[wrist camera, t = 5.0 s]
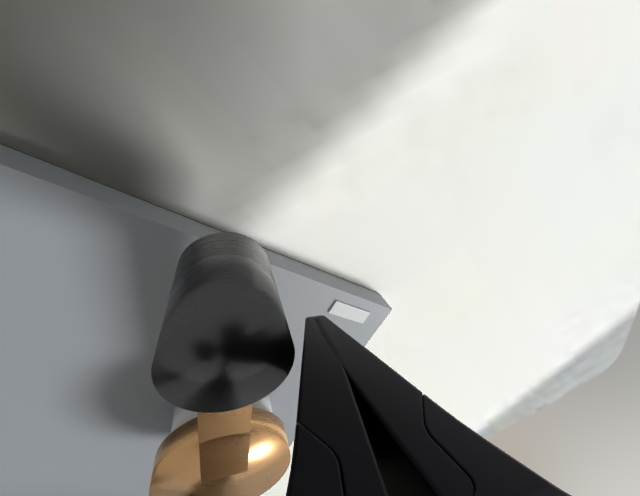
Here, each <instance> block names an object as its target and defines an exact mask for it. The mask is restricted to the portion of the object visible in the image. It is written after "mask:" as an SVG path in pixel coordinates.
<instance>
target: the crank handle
mask: <svg viewBox="0 0 640 496" xmlns="http://www.w3.org/2000/svg"><path fill="white" fill-rule="evenodd" d="M294 359H295V347H294V343H293V340H292V337H291V333H290V330H289V326H288V323H287V320H286V316H285V313H284V310H283V306H282V303H281V300H280V296H279V293H278V289H277V286H276V283H275V279H274V276H273V273H272V269H271V266H270V263H269V259H268V257H267V254H266V253H265V251H264V250H263V248H262V247H261V246H260V245H259V244H258V243H257V242H255V241H254V240H252V239H251V238H249V237H246V236H244V235H241V234H237V233H231V232H219V233H212V234H209V235H206V236H203V237H201V238H199V239H197V240H195V241H194V242H193V243H191V244H190V245H189V246H188V247H187V248H186V249H185V250H184V252H183V253H182V255H181V256H180V258H179V261H178V264H177V268H176V272H175V276H174V279H173V283H172V287H171V291H170V295H169V299H168V303H167V307H166V311H165V315H164V319H163V323H162V327H161V330H160V334H159V338H158V342H157V346H156V350H155V354H154V358H153V362H152V367H151V377H152V381H153V384H154V386H155V388H156V390H157V391H158V393H159V394H160V395H161V396H162V397H163V398H164V399H165V400H166V401H168V402H169V403H171V404H173V405H175V406H177V407H179V408H182V409H185V410H189V411H194V412H197V417H196V418H194V419H192V420H190V421H188V422H186V423H184V424H183V425H181V426H180V427H178V428H177V429H175V430H174V431H173V432H172V433H170V434H169V435H168V436H167V437H166V438H165V439H164V441H163V442H162V443H161V444H160V446H159V448H158V450H157V452H156V455H155V460H154V465H153V471H152V476H151V482H150V487H149V496H260V495H261V494H263V493H264V492H266V491H267V490H269V489H270V488H271V487H272V486H273V485H275V484H276V483H277V482H278V481H279V480H280V478H281V477H282V476H283V475H284V473H285V472H286V470H287V468H288V466H289V463H290V451H289V446H288V440H287V435H286V430H285V426H284V424H283V422H282V421H281V419H280V418H279V417H278V416H276V415H275V414H273V413H272V412H269V411H267V410H263V409H260V408H253V407H252V404H253V403H255V402H257V401H259V400H261V399H263V398H264V397H266V396H267V395H269V394H270V393H272V392H273V391H274V390H275V389H276V388H278V387H279V386H280V385H281V383H282V382H283V381H284V380H285V379H286V377H287V376H288V374H289V373H290V371H291V369H292V366H293V363H294Z"/></svg>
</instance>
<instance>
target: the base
mask: <svg viewBox="0 0 640 496" xmlns="http://www.w3.org/2000/svg"><path fill="white" fill-rule="evenodd" d="M219 232H222V231H219V230H217V229H214V228H211V227H209V226H206V225H204V224H201V223H199V222H196V221H194V220H191V219H189V218H186V217H184V216H181V215H179V214H176V213H174V212H171V211H168V210H166V209H163V208H161V207H158V206H156V205H153V204H151V203H148V202H146V201H143V200H141V199H138V198H136V197H133V196H131V195H128V194H125V193H123V192H120V191H118V190H115V189H113V188H110V187H108V186H105V185H103V184H100V183H98V182H95V181H93V180H90V179H87V178H85V177H82V176H80V175H77V174H75V173H72V172H70V171H67V170H65V169H62V168H60V167H57V166H55V165H52V164H50V163H47V162H44V161H42V160H39V159H37V158H34V157H32V156H29V155H27V154H24V153H22V152H19V151H17V150H14V149H12V148H9V147H7V146H4V145H1V144H0V496H149V487H150V482H151V476H152V471H153V465H154V460H155V455H156V452H157V450H158V448H159V446H160V444H161V443H162V442H163V441H164V439H165V438H166V437H167V436H168V435H169V434H170V433H172V432H173V431H174V430H175V429H177V428H178V427H180V426H181V425H183V424H184V423H186V422H188V421H190V420H192V419H194V418H196V417H197V412H194V411H189V410H185V409H182V408H179V407H177V406H175V405H173V404H171V403H169V402H168V401H166V400H165V399H164V398H163V397H162V396H161V395H160V394H159V393H158V391H157V390H156V388H155V386H154V384H153V381H152V377H151V367H152V362H153V358H154V354H155V350H156V346H157V342H158V338H159V334H160V330H161V327H162V323H163V319H164V315H165V311H166V307H167V303H168V299H169V295H170V291H171V287H172V283H173V279H174V276H175V272H176V268H177V264H178V261H179V258H180V256H181V255H182V253H183V252H184V250H185V249H186V248H187V247H188V246H189V245H190V244H191V243H193V242H194V241H195V240H197V239H199V238H201V237H203V236H206V235H209V234H212V233H219ZM263 250H264V251H265V253H266V254H267V257H268V259H269V263H270V266H271V269H272V273H273V276H274V279H275V283H276V286H277V289H278V293H279V296H280V300H281V303H282V306H283V310H284V313H285V316H286V320H287V323H288V326H289V330H290V333H291V337H292V340H293V343H294V347H295V359H294V363H293V366H292V369H291V371H290V373H289V374H288V376H287V377H286V379H285V380H284V381H283V382H282V383H281V385H280V386H279V387H278V388H276V389H275V390H274V391H273V392H272V393H270V394H269V395H267V396H266V397H264V398H263V399H261V400H259V401H257V402H255V403H253V404H252V407H253V408H260V409H263V410H267V411H269V412H272V413H273V414H275V415H276V416H278V417H279V418H280V419H281V421H282V422H283V424H284V426H285V430H286V435H287V440H288V446H290V445H291V443H292V442H293V441H294V439H295V428H296V419H297V407H298V396H299V385H300V374H301V363H302V352H303V340H304V329H305V319H306V317H310V316H318V315H324V316H326V317H327V318H328V319H330V320H331V321H332V322H333V323H335V324H336V325H337V326H338V327H340V328H341V329H342V330H344V331H345V332H346V333H347V334H349V335H350V336H351V337H352V338H354V339H355V340H356V341H357V342H359V343H360V344H361V345H363V346H365V345H366V344H367V342H368V341H369V340H370V338H371V337H372V336H373V334H374V333H375V332H376V330H377V329H378V328H379V326H380V325H381V324H382V322H383V321H384V320H385V318H386V317H387V316H388V314H389V313H390V312H391V310H392V309H391V307H390V306H389V305H388V304H387V302H386V301H385V300H384V299H383V297H382V296H381V295H380V294H378V293H376V292H373V291H371V290H368V289H366V288H363V287H361V286H358V285H356V284H353V283H351V282H348V281H346V280H343V279H340V278H338V277H335V276H333V275H330V274H328V273H325V272H323V271H320V270H318V269H315V268H313V267H310V266H308V265H305V264H303V263H300V262H297V261H295V260H292V259H290V258H287V257H285V256H282V255H280V254H277V253H275V252H272V251H270V250H267V249H265V248H263Z"/></svg>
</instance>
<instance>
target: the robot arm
mask: <svg viewBox="0 0 640 496" xmlns="http://www.w3.org/2000/svg"><path fill="white" fill-rule="evenodd" d="M286 496H571V495H569V494H568V493H566V492H564V491H562V490H561V489H559V488H558V487H556V486H555V485H553V484H551V483H550V482H548V481H547V480H545V479H544V478H542V477H541V476H540V475H538V474H537V473H535V472H533V471H532V470H530V469H529V468H527V467H526V466H524V465H523V464H522V463H520V462H519V461H517V460H516V459H514V458H513V457H511V456H510V455H508V454H507V453H505V452H504V451H502V450H500V449H499V448H498V447H496V446H495V445H493V444H492V443H490V442H489V441H487V440H486V439H484V438H483V437H482V436H480V435H479V434H477V433H476V432H474V431H473V430H471V429H470V428H469V427H467V426H466V425H464V424H463V423H461V422H460V421H459V420H457V419H456V418H455V417H453V416H452V415H451V414H449V413H448V412H447V411H445V410H444V409H443V408H441V407H440V406H439V405H438V404H436V403H435V402H434V401H432V400H431V399H430V398H429V397H427V396H426V395H423V396H422V392H421V391H420V390H418V389H417V388H416V387H415V386H413V385H412V384H411V383H409V382H408V381H407V380H406V379H404V378H403V377H402V376H401V375H399V374H398V373H397V372H396V371H394V370H393V369H392V368H390V367H389V366H388V365H387V364H385V363H384V362H383V361H382V360H380V359H379V358H378V357H377V356H375V355H374V354H373V353H371V352H370V351H369V350H368V349H366V348H365V347H364V346H363V345H361V344H360V343H359V342H357V341H356V340H355V339H354V338H352V337H351V336H350V335H349V334H347V333H346V332H345V331H344V330H342V329H341V328H340V327H338V326H337V325H336V324H335V323H333V322H332V321H331V320H330V319H328V318H327V317H326V316H324V315H318V316H310V317H306V319H305V329H304V340H303V352H302V363H301V374H300V385H299V396H298V407H297V419H296V428H295V439H294V448H293V456H292V464H291V471H290V477H289V482H288V487H287V493H286Z"/></svg>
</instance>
